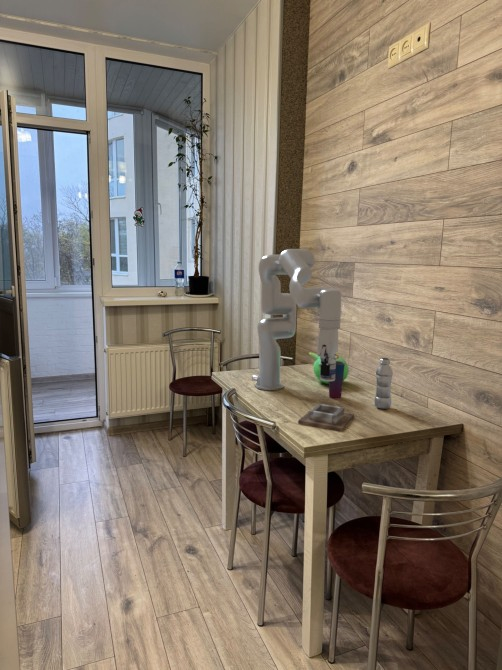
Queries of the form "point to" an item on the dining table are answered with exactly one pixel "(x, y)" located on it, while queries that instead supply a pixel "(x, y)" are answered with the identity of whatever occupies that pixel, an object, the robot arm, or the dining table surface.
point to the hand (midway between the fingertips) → (327, 373)
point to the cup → (337, 381)
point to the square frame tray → (327, 417)
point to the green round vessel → (318, 366)
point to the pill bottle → (332, 370)
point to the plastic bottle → (383, 384)
